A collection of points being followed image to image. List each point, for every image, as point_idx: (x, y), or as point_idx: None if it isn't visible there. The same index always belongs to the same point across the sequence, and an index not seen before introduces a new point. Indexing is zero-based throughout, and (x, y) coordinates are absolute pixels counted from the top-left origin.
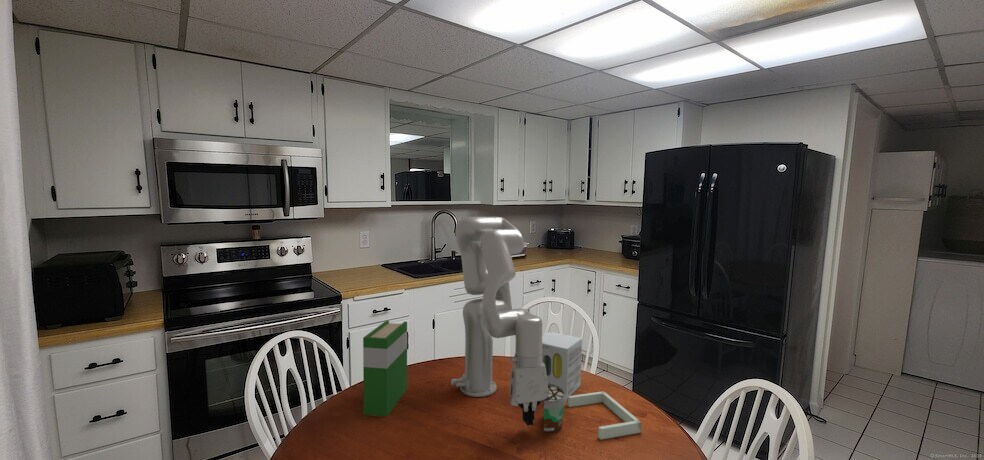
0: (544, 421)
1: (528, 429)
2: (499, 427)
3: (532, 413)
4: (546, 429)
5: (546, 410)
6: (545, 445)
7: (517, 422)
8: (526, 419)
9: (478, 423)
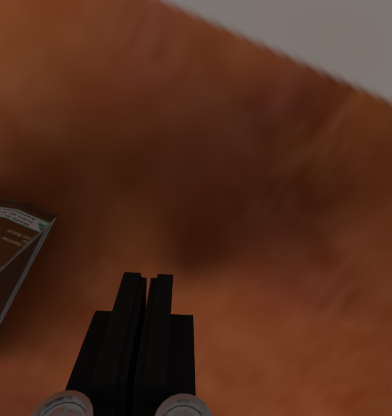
0: (3, 258)
1: None
2: (300, 342)
3: (104, 359)
4: (23, 218)
5: None
6: (101, 71)
7: None
8: (172, 323)
9: (379, 394)
